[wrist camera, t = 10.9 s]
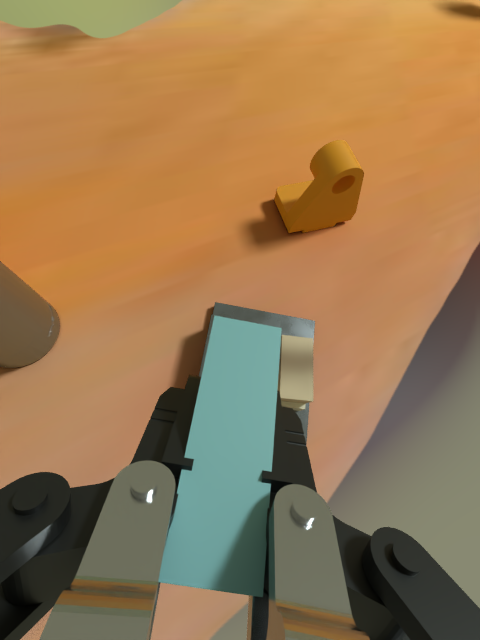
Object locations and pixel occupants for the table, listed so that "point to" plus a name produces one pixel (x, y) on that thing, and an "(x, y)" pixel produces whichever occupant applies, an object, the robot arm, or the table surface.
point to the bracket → (323, 191)
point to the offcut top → (296, 369)
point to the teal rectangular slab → (227, 465)
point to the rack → (287, 323)
